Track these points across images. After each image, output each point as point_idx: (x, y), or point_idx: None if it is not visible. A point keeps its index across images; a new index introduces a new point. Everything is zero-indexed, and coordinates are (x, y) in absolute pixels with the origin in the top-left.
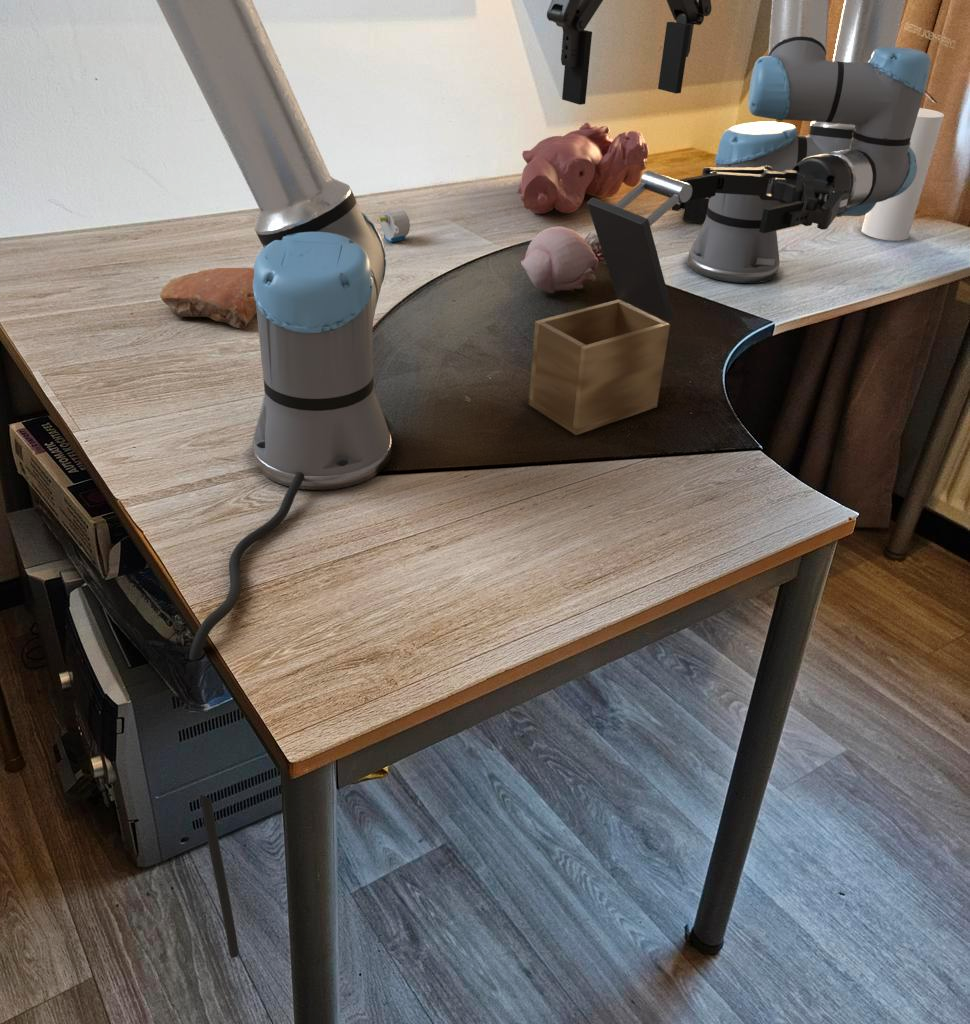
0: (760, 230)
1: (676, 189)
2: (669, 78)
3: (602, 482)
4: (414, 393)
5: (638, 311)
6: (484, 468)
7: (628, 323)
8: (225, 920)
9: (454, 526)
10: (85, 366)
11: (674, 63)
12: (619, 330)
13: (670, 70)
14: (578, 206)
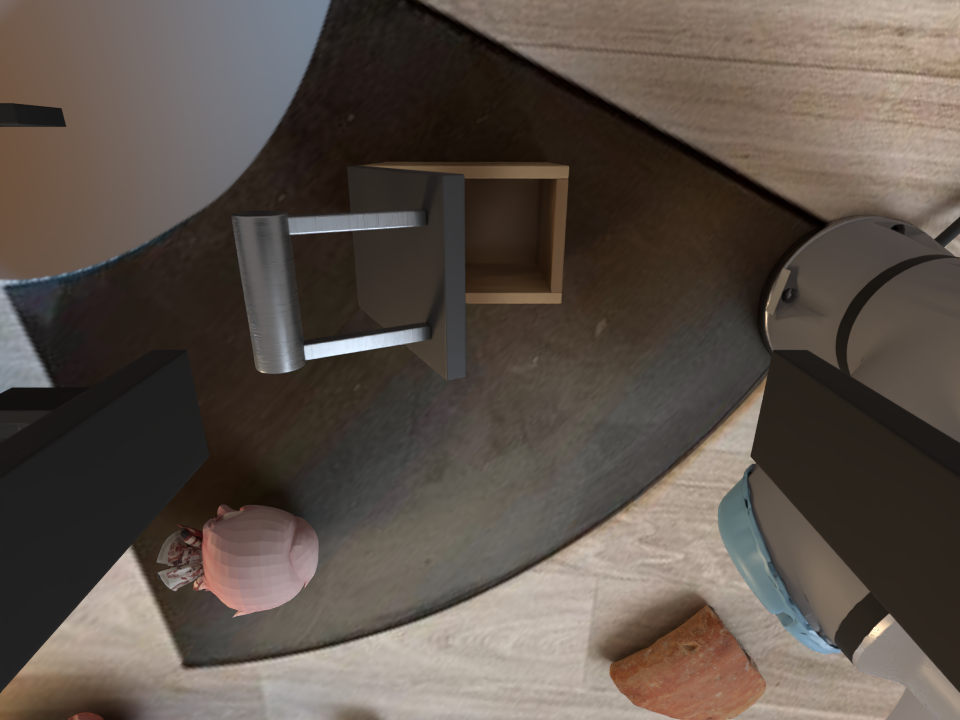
0: (62, 122)
1: (283, 232)
2: (166, 427)
3: (611, 30)
4: (647, 374)
5: None
6: (712, 160)
7: None
8: None
9: (846, 58)
10: None
11: (114, 449)
12: None
13: (144, 448)
14: (72, 717)
